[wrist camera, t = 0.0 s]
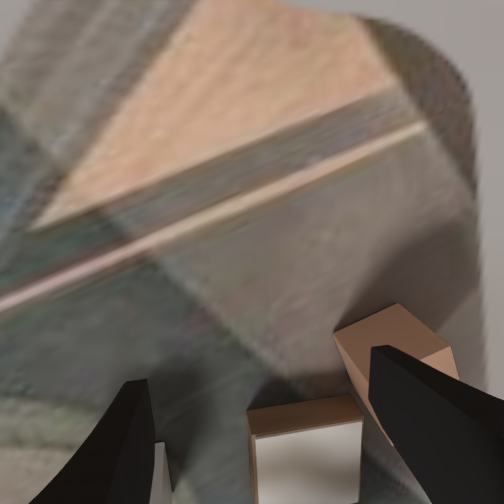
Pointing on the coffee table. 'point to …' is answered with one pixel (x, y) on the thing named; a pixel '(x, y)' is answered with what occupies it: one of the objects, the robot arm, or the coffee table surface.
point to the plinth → (306, 452)
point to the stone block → (161, 478)
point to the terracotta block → (397, 335)
